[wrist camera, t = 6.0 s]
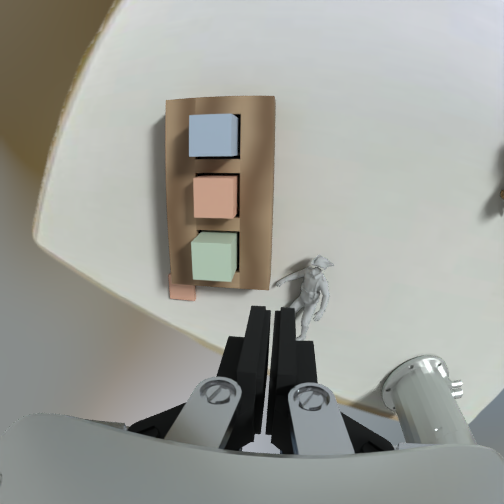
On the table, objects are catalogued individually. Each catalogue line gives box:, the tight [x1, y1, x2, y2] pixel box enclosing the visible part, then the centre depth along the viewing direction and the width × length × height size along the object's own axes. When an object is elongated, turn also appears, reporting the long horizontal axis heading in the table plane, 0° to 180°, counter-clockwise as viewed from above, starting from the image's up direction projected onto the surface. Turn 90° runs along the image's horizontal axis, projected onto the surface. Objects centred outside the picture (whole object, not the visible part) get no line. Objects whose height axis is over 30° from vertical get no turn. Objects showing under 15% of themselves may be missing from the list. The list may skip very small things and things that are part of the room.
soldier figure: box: [276, 255, 334, 341], centre depth 39 cm, size 8×5×12 cm
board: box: [165, 96, 275, 290], centre depth 36 cm, size 12×22×4 cm, turn 179°
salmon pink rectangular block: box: [193, 174, 240, 219], centre depth 34 cm, size 4×4×6 cm
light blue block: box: [189, 114, 240, 157], centre depth 31 cm, size 4×4×6 cm
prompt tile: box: [168, 273, 196, 301], centre depth 42 cm, size 4×4×1 cm
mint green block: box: [191, 230, 239, 282], centre depth 35 cm, size 4×4×6 cm
